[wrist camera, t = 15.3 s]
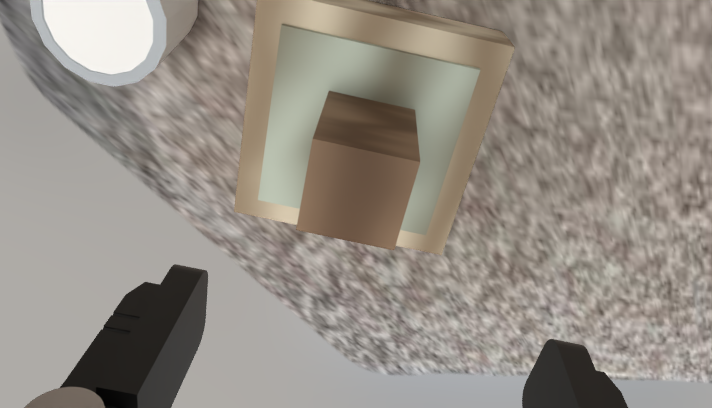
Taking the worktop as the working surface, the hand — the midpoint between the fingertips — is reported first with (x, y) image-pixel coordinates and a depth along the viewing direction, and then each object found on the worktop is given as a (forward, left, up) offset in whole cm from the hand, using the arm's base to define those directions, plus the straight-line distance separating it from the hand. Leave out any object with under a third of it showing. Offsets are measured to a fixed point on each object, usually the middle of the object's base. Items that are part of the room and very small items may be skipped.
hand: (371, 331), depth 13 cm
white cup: (+15, -1, -24) cm, 28 cm away
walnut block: (0, +4, -20) cm, 20 cm away
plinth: (+1, +4, -24) cm, 25 cm away
